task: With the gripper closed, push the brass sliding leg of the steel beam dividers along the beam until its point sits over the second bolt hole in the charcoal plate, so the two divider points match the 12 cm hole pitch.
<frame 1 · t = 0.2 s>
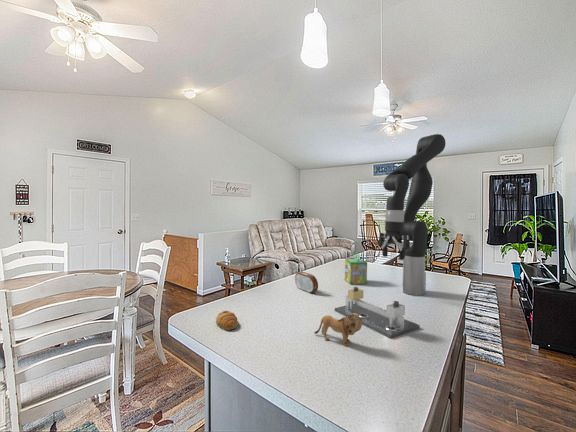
hand: (393, 258, 121), 17 cm above the kitchen island, tool pointing down, fingers open, 8 cm apart
sliding leg: (355, 297, 105), point 5 cm above the kitchen island, slide at -6.0 cm
bolt plate: (373, 318, 99), on the kitchen island
lion figurine: (338, 340, 83), on the kitchen island
chalk box: (355, 282, 147), on the kitchen island
tin: (305, 291, 132), on the kitchen island
divider frame: (371, 319, 98), resting on bolt plate
pastry: (227, 325, 94), on the kitchen island
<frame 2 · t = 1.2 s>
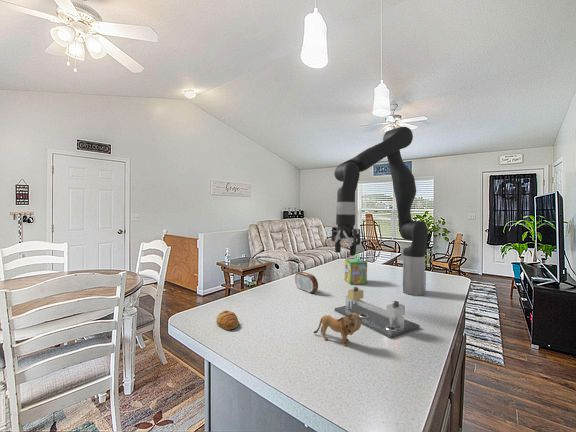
hand: (344, 253, 112), 21 cm above the kitchen island, tool pointing down, fingers open, 8 cm apart
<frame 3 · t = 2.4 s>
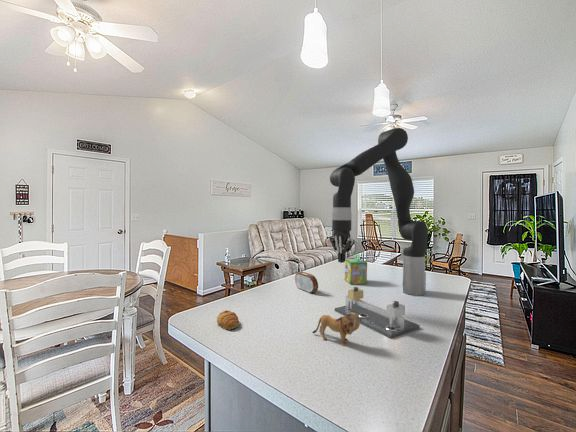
hand: (341, 262, 111), 18 cm above the kitchen island, tool pointing down, fingers closed
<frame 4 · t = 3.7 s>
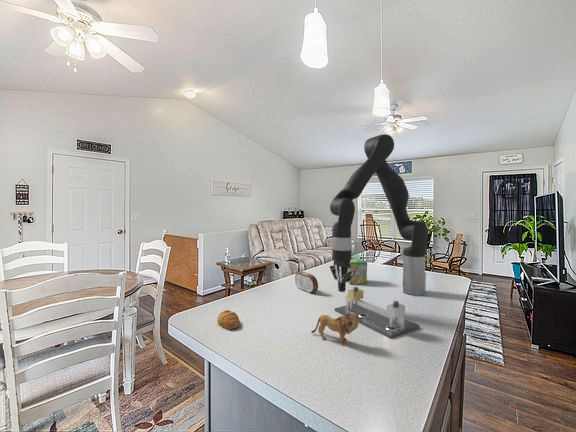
hand: (341, 291, 111), 6 cm above the kitchen island, tool pointing down, fingers closed
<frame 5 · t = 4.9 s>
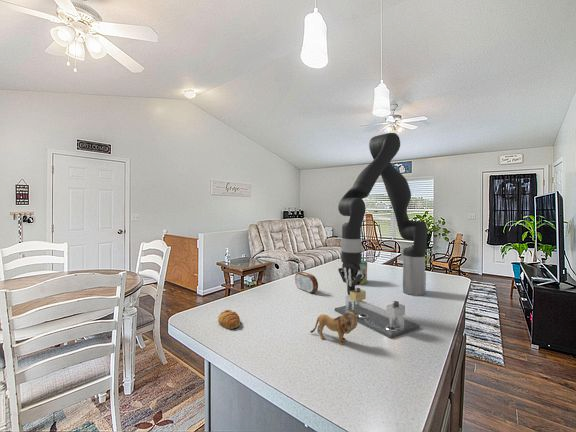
hand: (351, 295, 107), 6 cm above the kitchen island, tool pointing down, fingers closed
sliding leg: (357, 298, 104), point 5 cm above the kitchen island, slide at -4.8 cm, touching gripper
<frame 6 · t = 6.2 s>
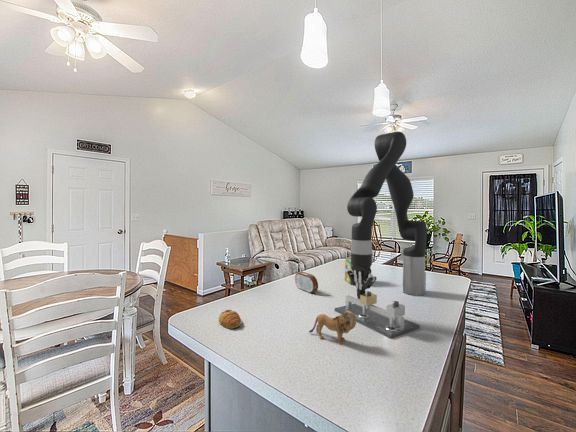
hand: (361, 298, 102), 6 cm above the kitchen island, tool pointing down, fingers closed
sliding leg: (368, 302, 99), point 5 cm above the kitchen island, slide at 0.4 cm, touching gripper
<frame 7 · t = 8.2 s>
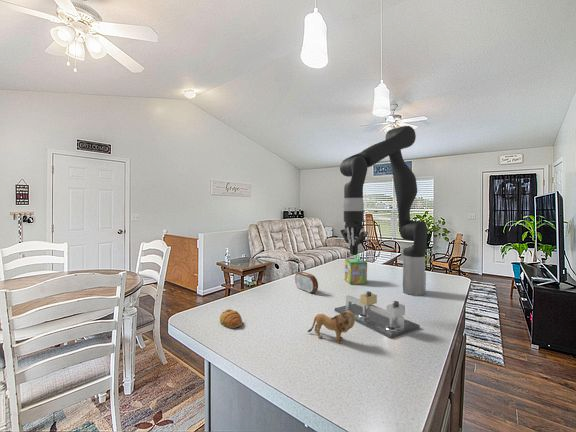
hand: (353, 254, 108), 21 cm above the kitchen island, tool pointing down, fingers closed
sliding leg: (368, 302, 99), point 5 cm above the kitchen island, slide at 0.5 cm
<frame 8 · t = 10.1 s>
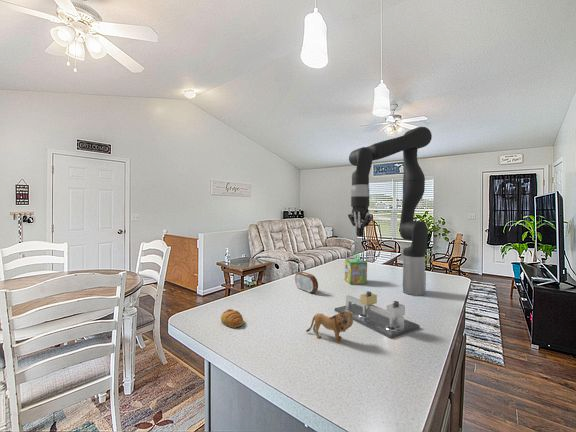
hand: (359, 236, 119), 27 cm above the kitchen island, tool pointing down, fingers closed
at the end: sliding leg slide at 0.5 cm; the gripper is holding nothing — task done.
